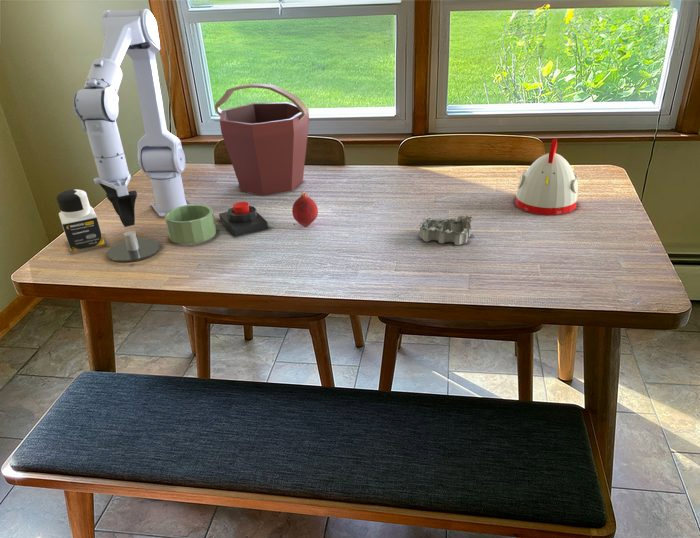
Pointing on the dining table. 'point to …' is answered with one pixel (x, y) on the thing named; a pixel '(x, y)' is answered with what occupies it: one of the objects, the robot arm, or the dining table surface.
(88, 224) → the medicine bottle
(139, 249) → the lid
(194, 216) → the pot
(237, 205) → the button
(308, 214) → the onion
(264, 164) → the bucket
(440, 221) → the egg carton
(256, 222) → the button housing
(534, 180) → the kitchen timer
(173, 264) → the dining table surface
